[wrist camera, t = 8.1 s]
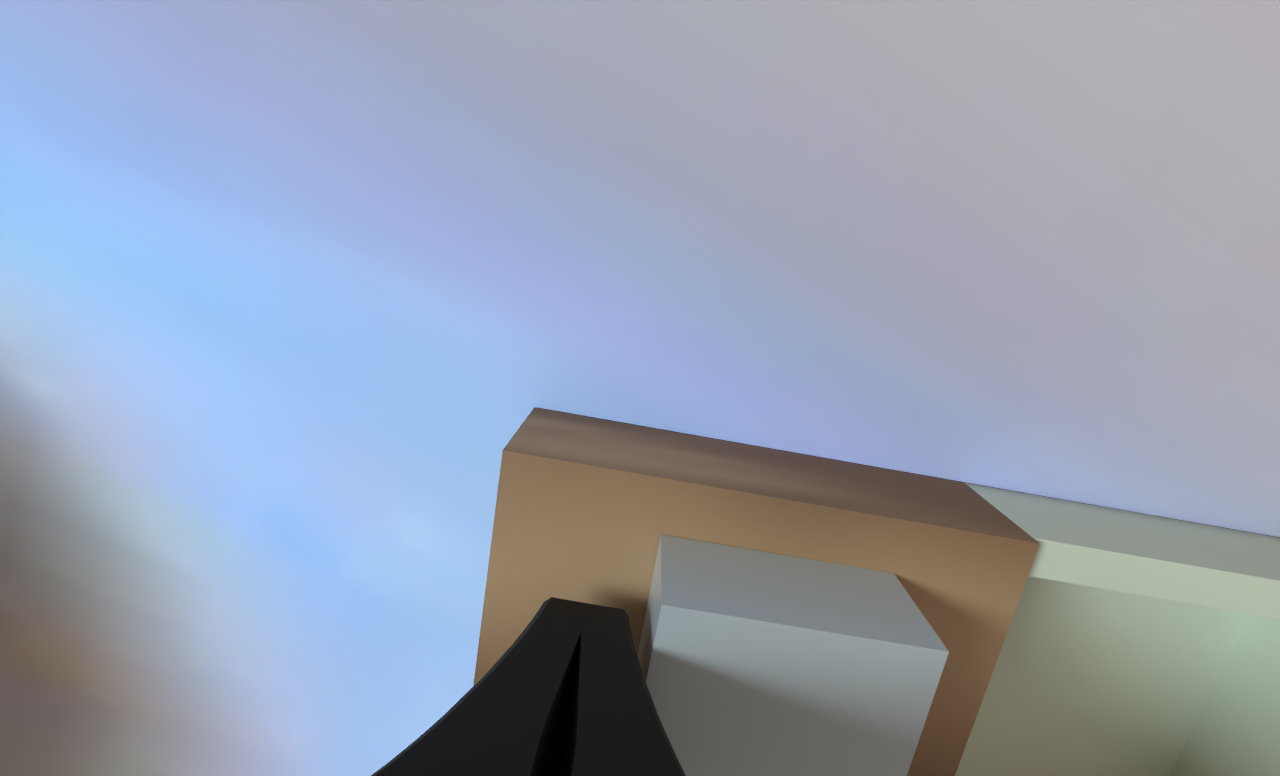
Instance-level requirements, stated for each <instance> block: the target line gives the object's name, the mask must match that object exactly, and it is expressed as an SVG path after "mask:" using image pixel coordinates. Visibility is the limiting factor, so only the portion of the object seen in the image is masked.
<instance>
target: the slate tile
mask: <svg viewBox="0 0 1280 776" xmlns="http://www.w3.org/2000/svg"><path fill="white" fill-rule="evenodd" d="M948 654H949V651H948V650H947V648H946V647H945V645H944V644H943V643H942V641H941V640H940V638H939V637H938V635H937V634H936V633H935V631H934V630H933V628H932V627H931V625H930V624H929V623H928V621H927V620H926V618H925V617H924V615H923V614H922V613H921V611H920V610H919V608H918V607H917V605H916V604H915V603H914V601H913V600H912V598H911V597H910V596H909V594H908V593H907V591H906V590H905V588H904V587H903V586H902V584H901V583H900V581H899V580H898V578H897V577H896V576H895V574H894V573H889V572H883V571H877V570H871V569H865V568H859V567H853V566H846V565H840V564H834V563H828V562H822V561H816V560H810V559H804V558H798V557H792V556H786V555H780V554H774V553H768V552H762V551H756V550H750V549H744V548H738V547H732V546H726V545H720V544H714V543H708V542H702V541H696V540H690V539H684V538H678V537H672V536H666V535H660V540H659V545H658V551H657V556H656V561H655V566H654V571H653V576H652V581H651V587H650V592H649V597H648V602H647V607H646V612H645V617H644V623H643V628H642V633H641V638H640V643H639V648H638V653H637V656H638V660H639V663H640V666H641V670H642V673H643V676H644V679H645V681H646V684H647V687H648V689H649V692H650V695H651V697H652V700H653V703H654V705H655V708H656V711H657V713H658V716H659V718H660V720H661V723H662V725H663V728H664V730H665V732H666V735H667V737H668V739H669V741H670V743H671V746H672V748H673V750H674V752H675V754H676V756H677V759H678V761H679V763H680V765H681V767H682V769H683V771H684V773H685V775H686V776H907V774H908V771H909V768H910V765H911V762H912V759H913V756H914V753H915V750H916V747H917V744H918V742H919V739H920V736H921V733H922V730H923V727H924V724H925V721H926V718H927V715H928V712H929V709H930V706H931V703H932V701H933V698H934V695H935V692H936V689H937V686H938V683H939V680H940V677H941V674H942V671H943V668H944V665H945V662H946V659H947V657H948Z"/></svg>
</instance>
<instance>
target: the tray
mask: <svg viewBox="0 0 1280 776" xmlns="http://www.w3.org/2000/svg"><path fill="white" fill-rule="evenodd" d="M965 484H967V485H968V486H969V487H970V488H972V489H973V490H974V491H975V492H977V493H978V494H979V495H980V496H982V497H983V498H984V499H985V500H986V501H988V502H989V503H990V504H991V505H993V506H994V507H995V508H996V509H998V510H999V511H1000V512H1001V513H1003V514H1004V515H1005V516H1006V517H1008V518H1009V519H1010V520H1011V521H1013V522H1014V523H1015V524H1016V525H1018V526H1019V527H1020V528H1021V529H1023V530H1024V531H1025V532H1026V533H1028V534H1029V535H1030V536H1031V537H1032V538H1034V539H1035V540H1036V541H1037V542H1039V543H1040V545H1039V548H1038V551H1037V553H1036V556H1035V559H1034V561H1033V564H1032V567H1031V570H1030V572H1029V575H1028V578H1027V581H1026V583H1025V586H1024V589H1023V591H1022V594H1021V597H1020V600H1019V602H1018V605H1017V608H1016V611H1015V613H1014V616H1013V619H1012V621H1011V624H1010V627H1009V630H1008V632H1007V635H1006V638H1005V640H1004V643H1003V646H1002V649H1001V651H1000V654H999V657H998V660H997V662H996V665H995V668H994V670H993V673H992V676H991V679H990V681H989V684H988V687H987V690H986V692H985V695H984V698H983V700H982V703H981V706H980V709H979V711H978V714H977V717H976V720H975V722H974V725H973V728H972V730H971V733H970V736H969V739H968V741H967V744H966V747H965V749H964V752H963V755H962V758H961V760H960V763H959V766H958V769H957V771H956V774H955V776H1280V538H1279V537H1274V536H1268V535H1262V534H1256V533H1251V532H1245V531H1239V530H1233V529H1228V528H1222V527H1216V526H1211V525H1205V524H1199V523H1193V522H1188V521H1182V520H1176V519H1170V518H1165V517H1159V516H1153V515H1148V514H1142V513H1136V512H1130V511H1125V510H1119V509H1113V508H1108V507H1102V506H1096V505H1090V504H1085V503H1079V502H1073V501H1067V500H1062V499H1056V498H1050V497H1045V496H1039V495H1033V494H1027V493H1022V492H1016V491H1010V490H1005V489H999V488H993V487H987V486H982V485H976V484H970V483H965Z"/></svg>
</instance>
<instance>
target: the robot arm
mask: <svg viewBox="0 0 1280 776" xmlns="http://www.w3.org/2000/svg"><path fill="white" fill-rule="evenodd" d="M371 776H686V775H685V773H684V771H683V769H682V767H681V765H680V763H679V761H678V759H677V756H676V754H675V752H674V750H673V748H672V746H671V743H670V741H669V739H668V737H667V735H666V732H665V730H664V728H663V725H662V723H661V720H660V718H659V716H658V713H657V711H656V708H655V705H654V703H653V700H652V697H651V695H650V692H649V689H648V687H647V684H646V681H645V679H644V676H643V673H642V670H641V666H640V663H639V660H638V656H637V653H636V650H635V646H634V642H633V638H632V633H631V628H630V622H629V616H628V615H627V613H626V612H625V610H624V609H619V608H613V607H607V606H601V605H595V604H589V603H583V602H577V601H571V600H565V599H559V598H553V597H551V598H549V599H548V600H546V601H545V602H543V604H542V606H541V607H540V609H539V610H538V612H537V613H536V615H535V616H534V617H533V619H532V620H531V622H530V623H529V624H528V626H527V627H526V628H525V629H524V631H523V632H522V633H521V634H520V636H519V637H518V638H517V639H516V640H515V642H514V643H513V644H512V645H511V647H510V648H509V649H508V650H507V651H506V652H505V653H504V654H503V655H502V657H501V658H500V659H499V660H498V661H497V662H496V663H495V664H494V665H493V667H492V668H491V669H490V670H489V671H488V672H487V673H486V674H485V675H484V676H483V677H482V678H481V680H480V681H479V682H478V683H477V684H476V685H475V686H474V687H472V688H471V689H470V690H469V691H468V692H467V693H466V694H465V695H464V696H463V697H462V698H461V699H460V700H459V701H458V702H457V703H456V704H455V705H454V706H453V707H452V708H451V709H450V710H449V711H448V712H447V713H446V714H445V715H444V716H443V717H442V718H440V719H439V720H438V721H437V722H436V723H435V724H434V725H433V726H431V727H430V728H429V729H428V730H427V731H426V732H425V733H424V734H422V735H421V736H420V737H419V738H418V739H417V740H415V741H414V742H413V743H412V744H411V745H409V746H408V747H407V748H406V749H405V750H403V751H402V752H401V753H400V754H398V755H397V756H396V757H395V758H394V759H392V760H391V761H390V762H389V763H387V764H386V765H385V766H383V767H382V768H381V769H379V770H378V771H377V772H375V773H374V774H373V775H371Z"/></svg>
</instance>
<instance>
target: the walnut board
mask: <svg viewBox="0 0 1280 776" xmlns="http://www.w3.org/2000/svg"><path fill="white" fill-rule="evenodd" d="M660 535H666V536H672V537H678V538H684V539H690V540H696V541H702V542H708V543H714V544H720V545H726V546H732V547H738V548H744V549H750V550H756V551H762V552H768V553H774V554H780V555H786V556H792V557H798V558H804V559H810V560H816V561H822V562H828V563H834V564H840V565H846V566H853V567H859V568H865V569H871V570H877V571H883V572H889V573H894V574H895V576H896V577H897V578H898V580H899V581H900V583H901V584H902V586H903V587H904V588H905V590H906V591H907V593H908V594H909V596H910V597H911V598H912V600H913V601H914V603H915V604H916V605H917V607H918V608H919V610H920V611H921V613H922V614H923V615H924V617H925V618H926V620H927V621H928V623H929V624H930V625H931V627H932V628H933V630H934V631H935V633H936V634H937V635H938V637H939V638H940V640H941V641H942V643H943V644H944V645H945V647H946V648H947V650H948V651H949V654H948V657H947V659H946V662H945V665H944V668H943V671H942V674H941V677H940V680H939V683H938V686H937V689H936V692H935V695H934V698H933V701H932V703H931V706H930V709H929V712H928V715H927V718H926V721H925V724H924V727H923V730H922V733H921V736H920V739H919V742H918V744H917V747H916V750H915V753H914V756H913V759H912V762H911V765H910V768H909V771H908V774H907V776H955V774H956V771H957V769H958V766H959V763H960V760H961V758H962V755H963V752H964V749H965V747H966V744H967V741H968V739H969V736H970V733H971V730H972V728H973V725H974V722H975V720H976V717H977V714H978V711H979V709H980V706H981V703H982V700H983V698H984V695H985V692H986V690H987V687H988V684H989V681H990V679H991V676H992V673H993V670H994V668H995V665H996V662H997V660H998V657H999V654H1000V651H1001V649H1002V646H1003V643H1004V640H1005V638H1006V635H1007V632H1008V630H1009V627H1010V624H1011V621H1012V619H1013V616H1014V613H1015V611H1016V608H1017V605H1018V602H1019V600H1020V597H1021V594H1022V591H1023V589H1024V586H1025V583H1026V581H1027V578H1028V575H1029V572H1030V570H1031V567H1032V564H1033V561H1034V559H1035V556H1036V553H1037V551H1038V548H1039V545H1040V543H1039V542H1037V541H1036V540H1035V539H1034V538H1032V537H1031V536H1030V535H1029V534H1028V533H1026V532H1025V531H1024V530H1023V529H1021V528H1020V527H1019V526H1018V525H1016V524H1015V523H1014V522H1013V521H1011V520H1010V519H1009V518H1008V517H1006V516H1005V515H1004V514H1003V513H1001V512H1000V511H999V510H998V509H996V508H995V507H994V506H993V505H991V504H990V503H989V502H988V501H986V500H985V499H984V498H983V497H982V496H980V495H979V494H978V493H977V492H975V491H974V490H973V489H972V488H970V487H969V486H968V485H967V484H965V483H964V482H959V481H953V480H947V479H942V478H936V477H930V476H924V475H919V474H913V473H907V472H902V471H896V470H890V469H884V468H879V467H873V466H867V465H861V464H856V463H850V462H844V461H839V460H833V459H827V458H821V457H816V456H810V455H804V454H799V453H793V452H787V451H781V450H776V449H770V448H764V447H758V446H753V445H747V444H741V443H736V442H730V441H724V440H718V439H713V438H707V437H701V436H696V435H690V434H684V433H678V432H673V431H667V430H661V429H655V428H650V427H644V426H638V425H633V424H627V423H621V422H615V421H610V420H604V419H598V418H593V417H587V416H581V415H575V414H570V413H564V412H558V411H552V410H547V409H541V408H534V409H533V410H532V412H531V413H530V414H529V416H528V417H527V418H526V420H525V421H524V422H523V424H522V425H521V426H520V428H519V429H518V431H517V432H516V433H515V435H514V436H513V437H512V439H511V440H510V441H509V443H508V444H507V445H506V447H505V448H504V449H503V454H502V462H501V470H500V478H499V486H498V494H497V502H496V510H495V518H494V526H493V534H492V542H491V550H490V558H489V566H488V574H487V582H486V590H485V598H484V606H483V614H482V622H481V630H480V638H479V647H478V655H477V663H476V671H475V679H474V686H475V685H476V684H477V683H478V682H479V681H480V680H481V678H482V677H483V676H484V675H485V674H486V673H487V672H488V671H489V670H490V669H491V668H492V667H493V665H494V664H495V663H496V662H497V661H498V660H499V659H500V658H501V657H502V655H503V654H504V653H505V652H506V651H507V650H508V649H509V648H510V647H511V645H512V644H513V643H514V642H515V640H516V639H517V638H518V637H519V636H520V634H521V633H522V632H523V631H524V629H525V628H526V627H527V626H528V624H529V623H530V622H531V620H532V619H533V617H534V616H535V615H536V613H537V612H538V610H539V609H540V607H541V606H542V604H543V602H545V601H546V600H548V599H549V598H551V597H553V598H559V599H565V600H571V601H577V602H583V603H589V604H595V605H601V606H607V607H613V608H619V609H624V610H625V612H626V613H627V615H628V616H629V622H630V628H631V633H632V638H633V642H634V646H635V650H636V653H638V648H639V643H640V638H641V633H642V628H643V623H644V617H645V612H646V607H647V602H648V597H649V592H650V587H651V581H652V576H653V571H654V566H655V561H656V556H657V551H658V545H659V540H660Z"/></svg>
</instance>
